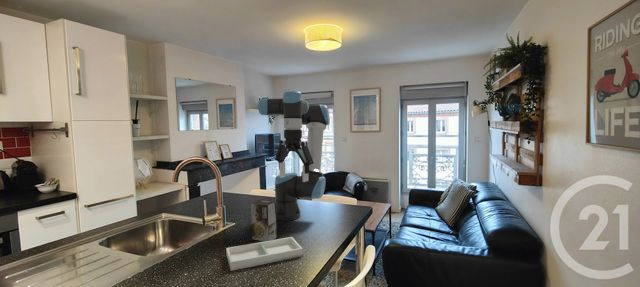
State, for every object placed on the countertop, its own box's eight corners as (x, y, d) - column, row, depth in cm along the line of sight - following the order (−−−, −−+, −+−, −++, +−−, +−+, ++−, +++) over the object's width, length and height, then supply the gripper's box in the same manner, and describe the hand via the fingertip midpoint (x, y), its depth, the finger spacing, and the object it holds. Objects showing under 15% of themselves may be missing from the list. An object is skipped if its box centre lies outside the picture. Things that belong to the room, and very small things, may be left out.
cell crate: (226, 255, 112) (226, 248, 112) (292, 243, 123) (292, 236, 122) (230, 270, 100) (230, 262, 100) (302, 256, 111) (302, 248, 111)
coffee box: (277, 237, 130) (276, 201, 129) (268, 242, 124) (268, 205, 123) (260, 234, 133) (259, 199, 132) (251, 239, 128) (250, 202, 127)
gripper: (266, 128, 127) (267, 177, 129) (309, 129, 111) (310, 184, 113) (279, 128, 133) (279, 174, 135) (321, 129, 117) (322, 181, 119)
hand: (293, 179), depth 124 cm, fingers open, 13 cm apart
